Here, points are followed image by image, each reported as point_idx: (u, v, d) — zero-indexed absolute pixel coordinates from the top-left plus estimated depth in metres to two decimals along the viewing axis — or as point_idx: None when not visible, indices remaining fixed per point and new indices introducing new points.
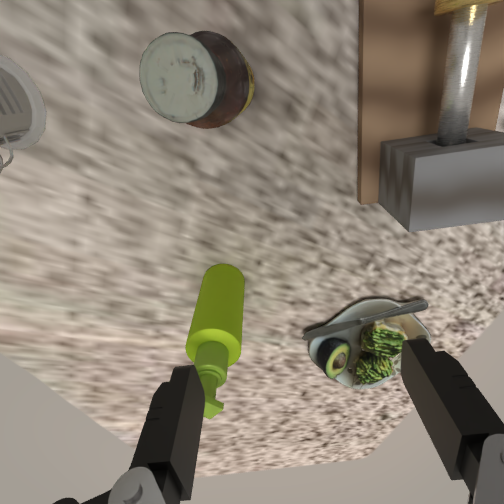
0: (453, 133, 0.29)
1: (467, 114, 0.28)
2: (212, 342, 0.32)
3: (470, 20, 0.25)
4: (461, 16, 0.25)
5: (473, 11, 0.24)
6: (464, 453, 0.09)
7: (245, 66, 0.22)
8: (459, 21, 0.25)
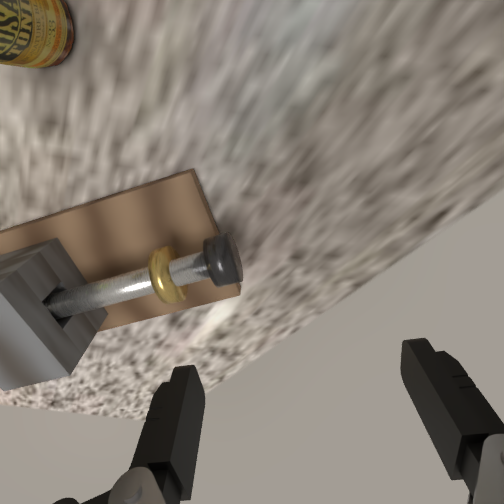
0: (61, 305, 0.28)
1: (82, 309, 0.28)
2: None
3: (147, 282, 0.27)
4: None
5: None
6: (464, 453, 0.09)
7: None
8: (147, 273, 0.27)
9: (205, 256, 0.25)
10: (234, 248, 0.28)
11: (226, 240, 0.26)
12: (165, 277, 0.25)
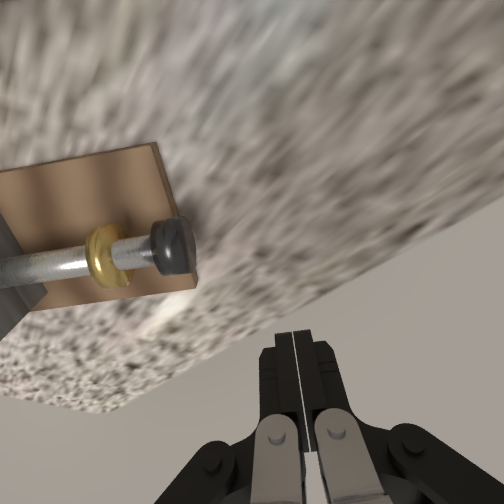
0: None
1: (7, 284, 0.25)
2: None
3: (85, 261, 0.24)
4: None
5: None
6: (313, 427, 0.10)
7: None
8: None
9: (152, 239, 0.22)
10: (189, 235, 0.25)
11: (178, 224, 0.23)
12: (103, 258, 0.22)
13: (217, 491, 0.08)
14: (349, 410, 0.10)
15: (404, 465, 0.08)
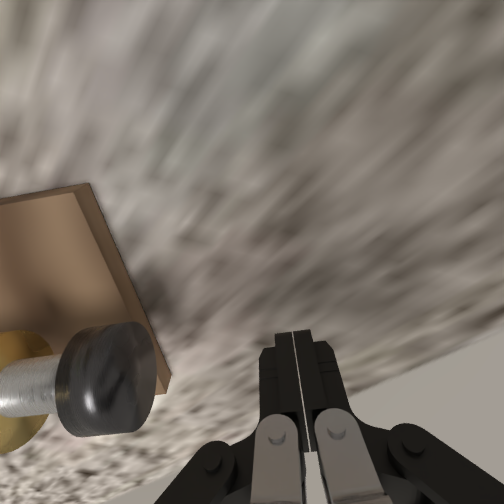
0: None
1: None
2: None
3: None
4: None
5: None
6: (313, 426, 0.10)
7: None
8: None
9: (58, 385, 0.12)
10: (141, 350, 0.14)
11: (112, 351, 0.12)
12: None
13: (217, 491, 0.08)
14: (349, 410, 0.10)
15: (404, 465, 0.08)
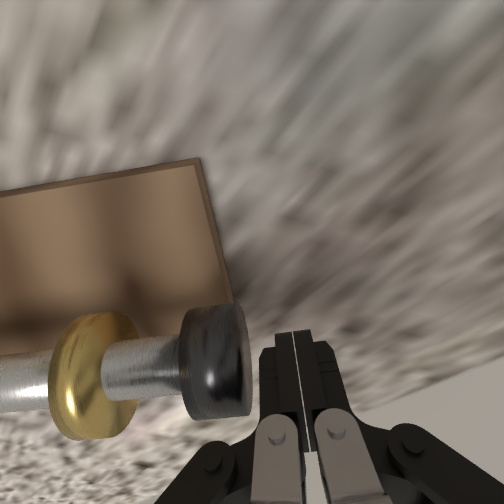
0: None
1: None
2: None
3: None
4: None
5: None
6: (313, 427, 0.10)
7: None
8: None
9: (182, 365, 0.11)
10: (243, 332, 0.14)
11: (233, 330, 0.12)
12: (83, 401, 0.11)
13: (217, 491, 0.08)
14: (349, 410, 0.10)
15: (404, 465, 0.08)
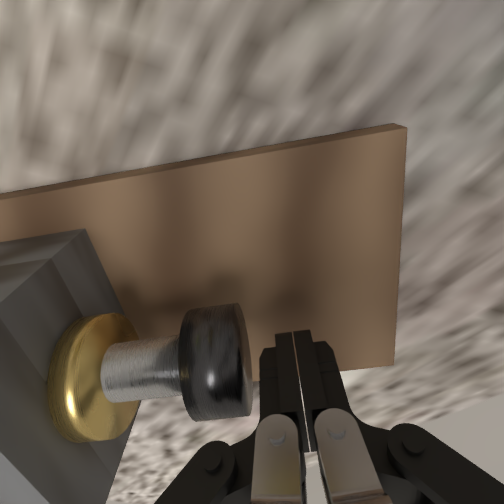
0: None
1: None
2: None
3: None
4: None
5: None
6: (313, 427, 0.10)
7: None
8: None
9: (182, 365, 0.11)
10: (243, 333, 0.14)
11: (233, 331, 0.12)
12: (83, 403, 0.11)
13: (217, 491, 0.08)
14: (349, 410, 0.10)
15: (404, 465, 0.08)
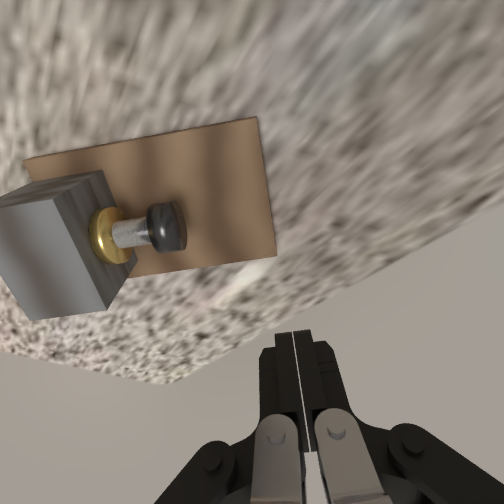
0: None
1: None
2: None
3: None
4: None
5: None
6: (313, 427, 0.10)
7: None
8: None
9: (147, 219, 0.26)
10: (181, 218, 0.28)
11: (171, 207, 0.26)
12: (105, 236, 0.26)
13: (217, 491, 0.08)
14: (349, 410, 0.10)
15: (404, 465, 0.08)
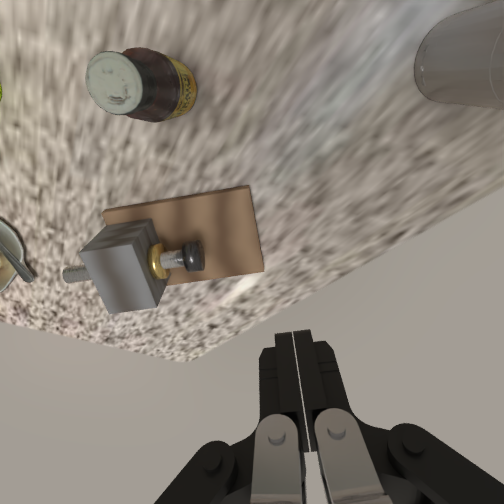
0: (88, 272, 0.45)
1: None
2: None
3: None
4: (148, 259, 0.44)
5: None
6: (313, 427, 0.10)
7: (162, 119, 0.30)
8: None
9: (183, 253, 0.42)
10: (201, 249, 0.45)
11: (196, 244, 0.43)
12: (157, 262, 0.43)
13: (217, 491, 0.08)
14: (349, 410, 0.10)
15: (404, 465, 0.08)
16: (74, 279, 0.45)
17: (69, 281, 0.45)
